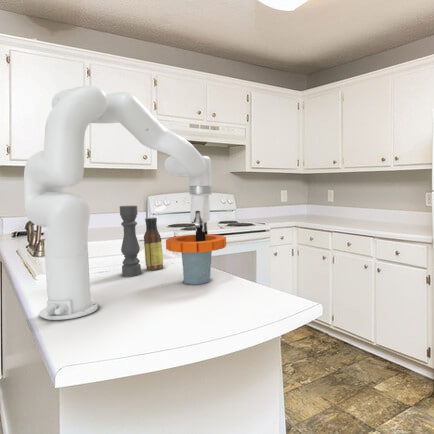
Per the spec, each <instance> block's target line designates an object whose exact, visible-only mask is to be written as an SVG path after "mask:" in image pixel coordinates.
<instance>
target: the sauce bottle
mask: <svg viewBox="0 0 434 434" xmlns="http://www.w3.org/2000/svg"><path fill="white" fill-rule="evenodd" d="M144 222H145V233H144V235H143V248H144V258H145V259H144V260H145V266H146V267H145V268H146V270H148V271H156V270H157V271H158V270H161V269H163V268H164V255H163V245H162V244H163V243H162V236H161V234H160V233H159V231H158V224H157V222H158V218H157V217H154V216H153V217H152V216H151V217H145V218H144Z"/></svg>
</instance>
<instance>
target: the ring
mask: <svg viewBox="0 0 434 434" xmlns="http://www.w3.org/2000/svg"><path fill="white" fill-rule="evenodd" d="M226 247H227V236H224V235H221V234H213V233H212V234H209V233H208V234H205V241H199V242H196V233H195V234H185V235H176V236H171V237H169V238H166V239H165V249H166V250H167V251H168V252H171V253H172V252H173V253H181V252H183V253H195V252H207V251H212V252H213V251H214V252H215V251H219V250H223V249H225V248H226Z"/></svg>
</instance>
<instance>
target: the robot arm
mask: <svg viewBox="0 0 434 434" xmlns="http://www.w3.org/2000/svg"><path fill="white" fill-rule="evenodd" d="M51 107H52V108H51V110H50V112H49V114H48V116H47V118H46V121H45V127H44V141H43V143H44V144H43V150H40V151H38V152H35V153H33V154H32V155H31V156H30V157H28V159H27V160H26V163H25V165H24V169H23V172H24V173H23V203H24V205H23V207H24V212H25V215H26V217H27V219H28V220H29V221H30V222H31V223H32V224H33V225H35V226H38V227H42V228H46V232H45V237H44V243H43V244H44V249H43V251H44V261H45V262H44V263H45V278H46V291H47V293H46V294H47V306H46V307H45V308H43V309H41V310H39V317H41V318H43V319H44V320H50V321H61V320H62V321H63V320H71V319H77V318H80V317H81V318H82V317H85V316H89V315H90V314H92V313H95V312H96V311H97V310H98V307H99V306H98V302H96V301H92V300H91V299H92V297H91V280H90V279H91V278H90V264H89V261H90V260H89V249H88V248H89V246H88V245H89V244H88V235H89V234H88V233H89V224H90V217H91V213H90V212H91V211H90V207H89V205H88V203H87V201H86V200H85V199H84V198H83V197H82V196H80V195H78V194H75V193H72V192H65V188H71V187H74V186H77V185H78V184H80V183H81V182H82V180H83V178H84V173H85V167H84V166H85V134H86V131H87V129H88V127H89V126H90V124H117V123H119V124H120V125H121V126H123V128H125V129H126V130H127V131H128V132H129V134H131V135H132V136H133V137H134V138H135V139H136V140H137V141H138V142H139V143H140V144H141V145H142V146H144V147H146V148H149V149H150V150H154V151H157V152H159V153H164V154H166V155H168V157H167V158H166V159H165V161H164V169H165V172H166V173H167V174H168V175H170V176H172V177H176V178H188V189H189V191H188V193H189V196H191V197H190V224H192V225H193V224H194V225H195V235H196V242H199V241H205V234H209V232H208V222H209V221H210V218H211V216H210V215H211V214H210V213H211V209H210V196H212V194H213V193H212V160H211V158H210V157H209V156H207V155H202V154H201V153H200V152H199V150H198V149H197V148H196V147H195V146H194V145H193V144H192V143H191V142H190V141H188V140H187V139H186V138H184V137H182V136H181V135H179V134H177V133H176V132H174V131H173V130H170V129H168V128H167V127H165V126H164V125H163V124H162V123H161V122H160V121H159V120H158V119H157V118H156V117H155V115H154V114H152V113H151V111H150V110H149V109H148V108H147V107H146V106H145V105H144V104H143V103H142V102H141V101H140V100H139V99H138V98H137V97H136V96H135V95H134V94H132V93H131V92H127V91H118V92H111V93H106V92H105V91H104V90H103V89H101V88H100V87H97V86H94V85H83V86H76V87H73V88H67V89H62V90H60V91H57V92H56V93H55V94H54V95H53V97H52V100H51Z"/></svg>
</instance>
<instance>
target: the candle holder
mask: <svg viewBox="0 0 434 434" xmlns="http://www.w3.org/2000/svg"><path fill="white" fill-rule="evenodd" d="M119 216H120V218H121V220H122V222H121V223H120V225H121V226H122V227H123V238H122V243H121V247H120V251H121V254H122V255H123V257H124V259H123V260H122V265H121V275H122V277H126V278H127V277H128V278H129V277H137V276H140V275H142V265H141V263H140V259H139V258H138V255H139V252H140V250H141V247H140V244H139V241H138V236H137V234H136V233H137V231H136V226H137V225H138V222H137V221H136V218H137V217H138V205H120V206H119Z"/></svg>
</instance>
